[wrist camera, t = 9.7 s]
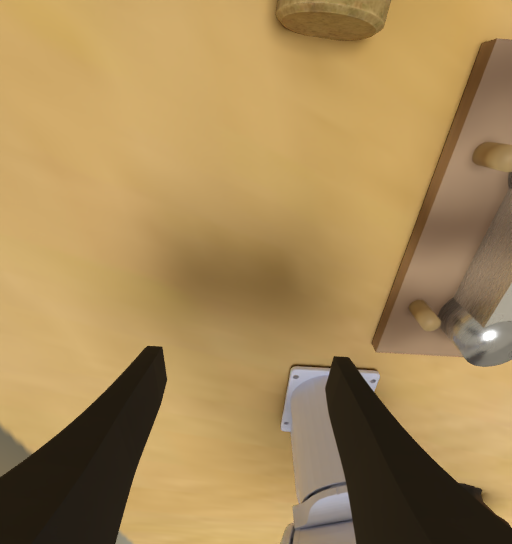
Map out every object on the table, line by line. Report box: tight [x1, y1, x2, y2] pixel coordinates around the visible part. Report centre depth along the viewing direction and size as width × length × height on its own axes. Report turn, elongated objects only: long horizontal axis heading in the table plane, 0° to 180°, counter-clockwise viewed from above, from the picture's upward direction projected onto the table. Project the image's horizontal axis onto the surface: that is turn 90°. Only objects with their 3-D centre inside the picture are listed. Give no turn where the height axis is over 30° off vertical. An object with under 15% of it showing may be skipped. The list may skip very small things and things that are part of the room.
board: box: [372, 39, 512, 357], centre depth 18 cm, size 20×11×3 cm, turn 176°
